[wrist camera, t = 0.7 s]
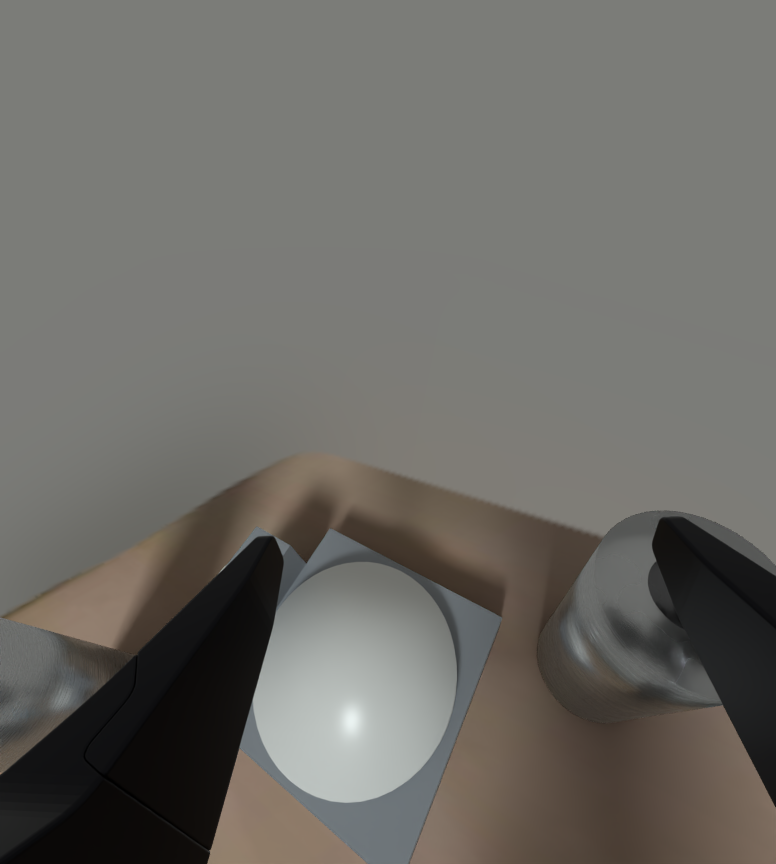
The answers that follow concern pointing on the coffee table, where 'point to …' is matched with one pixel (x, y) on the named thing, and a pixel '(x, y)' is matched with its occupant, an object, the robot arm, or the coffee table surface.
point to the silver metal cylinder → (45, 682)
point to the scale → (364, 691)
